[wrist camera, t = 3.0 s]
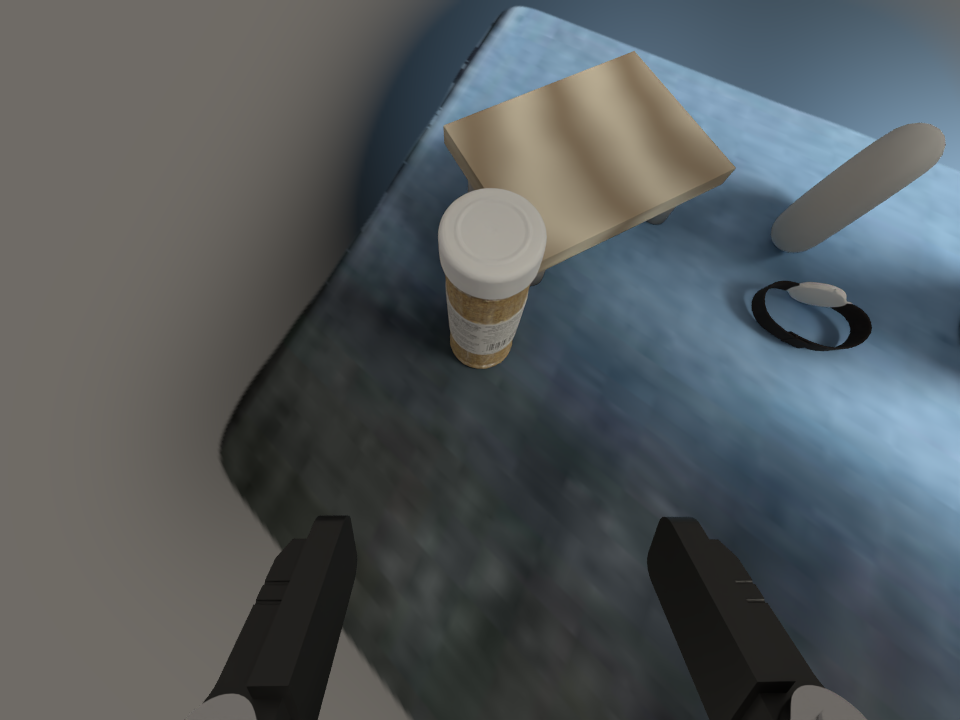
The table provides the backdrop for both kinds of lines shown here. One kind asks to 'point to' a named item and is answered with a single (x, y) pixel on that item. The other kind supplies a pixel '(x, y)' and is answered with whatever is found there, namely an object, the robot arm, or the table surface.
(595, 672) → the table surface
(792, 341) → the watch
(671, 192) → the small wooden stool
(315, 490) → the table surface
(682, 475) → the table surface
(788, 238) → the donut
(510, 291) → the sprinkles bottle
